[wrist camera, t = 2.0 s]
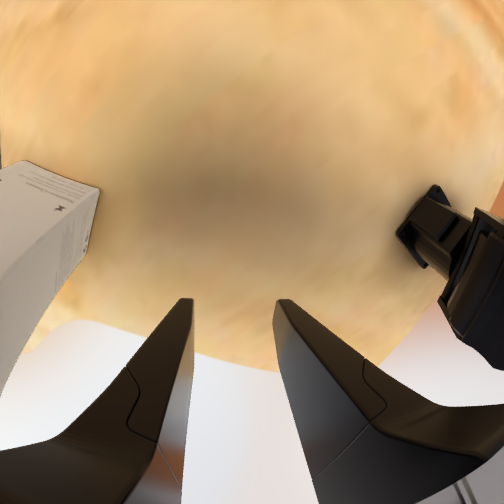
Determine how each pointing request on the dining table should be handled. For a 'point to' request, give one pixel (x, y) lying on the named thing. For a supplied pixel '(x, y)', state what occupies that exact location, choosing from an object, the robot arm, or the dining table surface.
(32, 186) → the skincare box
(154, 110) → the dining table surface
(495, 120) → the dining table surface
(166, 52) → the dining table surface
